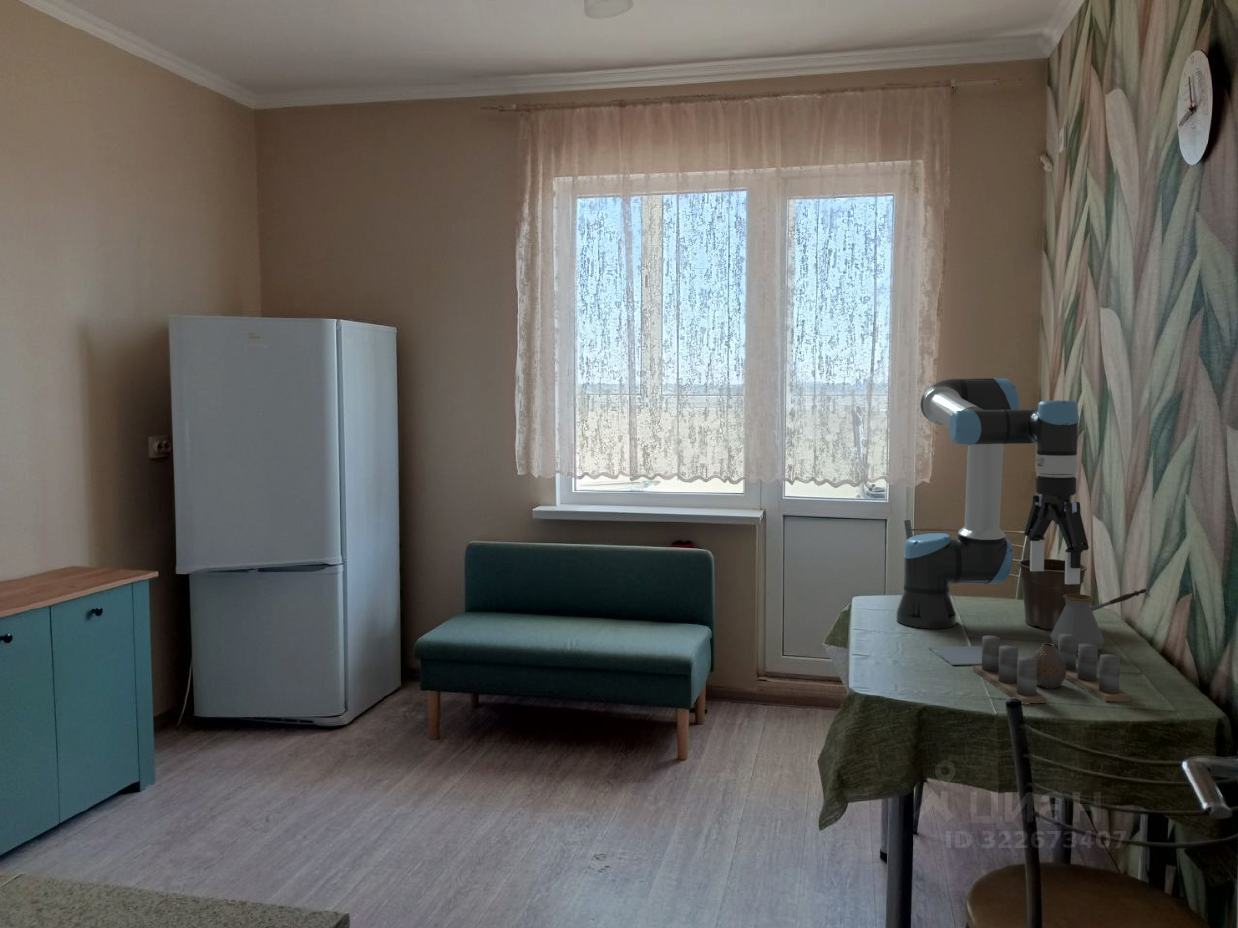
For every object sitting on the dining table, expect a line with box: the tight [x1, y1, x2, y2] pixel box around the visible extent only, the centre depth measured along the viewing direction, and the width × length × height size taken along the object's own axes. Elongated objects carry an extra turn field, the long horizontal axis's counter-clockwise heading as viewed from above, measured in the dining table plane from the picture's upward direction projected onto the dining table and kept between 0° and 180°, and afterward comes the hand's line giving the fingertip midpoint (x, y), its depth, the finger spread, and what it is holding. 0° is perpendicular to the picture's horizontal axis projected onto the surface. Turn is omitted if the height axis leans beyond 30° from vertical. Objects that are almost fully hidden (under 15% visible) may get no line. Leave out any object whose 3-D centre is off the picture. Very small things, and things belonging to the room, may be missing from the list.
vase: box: [1031, 642, 1066, 689], centre depth 194 cm, size 7×7×9 cm
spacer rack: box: [972, 634, 1131, 705], centre depth 194 cm, size 22×22×8 cm
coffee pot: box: [1049, 588, 1151, 653], centre depth 219 cm, size 21×12×15 cm, turn 81°
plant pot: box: [1018, 558, 1088, 631], centre depth 243 cm, size 16×16×16 cm
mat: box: [928, 645, 982, 666], centre depth 216 cm, size 14×14×1 cm
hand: (1053, 577), depth 193 cm, fingers open, 13 cm apart
